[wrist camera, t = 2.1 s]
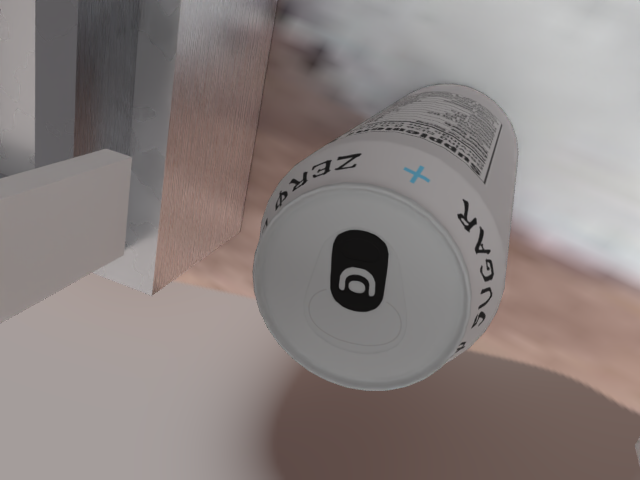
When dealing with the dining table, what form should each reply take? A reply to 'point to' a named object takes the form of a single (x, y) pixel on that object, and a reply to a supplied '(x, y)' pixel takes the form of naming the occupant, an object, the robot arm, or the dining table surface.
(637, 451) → the robot arm
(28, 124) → the block
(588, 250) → the dining table surface
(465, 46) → the dining table surface
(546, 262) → the dining table surface
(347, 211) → the energy drink can
